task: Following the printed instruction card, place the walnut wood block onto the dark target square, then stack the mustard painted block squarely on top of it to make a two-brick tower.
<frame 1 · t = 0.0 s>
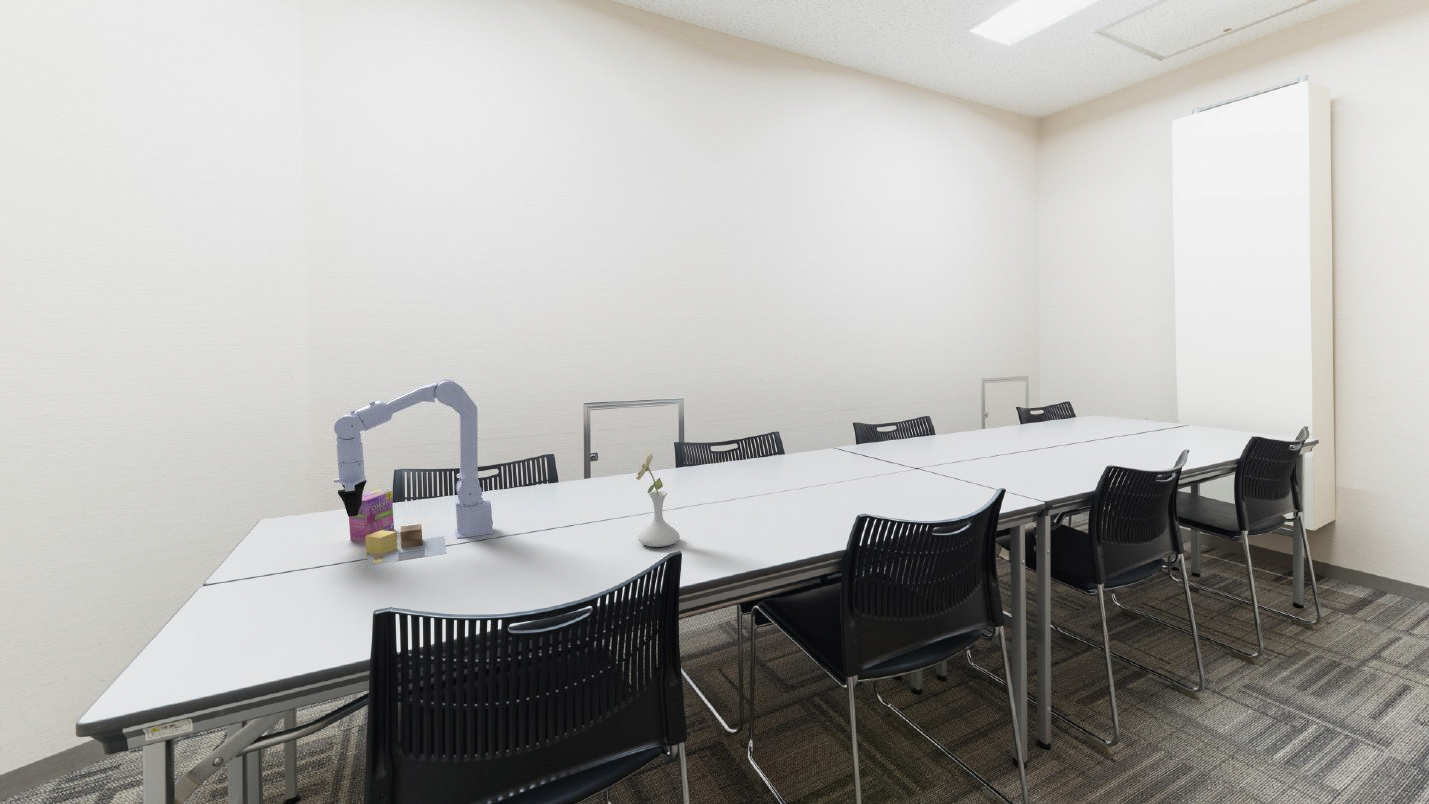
hand: (354, 511, 155), 10 cm above the table, fingers open, 7 cm apart
flower in vase: (657, 544, 159), on the table
mustard block: (382, 550, 155), resting on instruction card
box: (373, 536, 168), on the table
instruction card: (407, 550, 155), on the table
walnut block: (412, 544, 159), resting on instruction card
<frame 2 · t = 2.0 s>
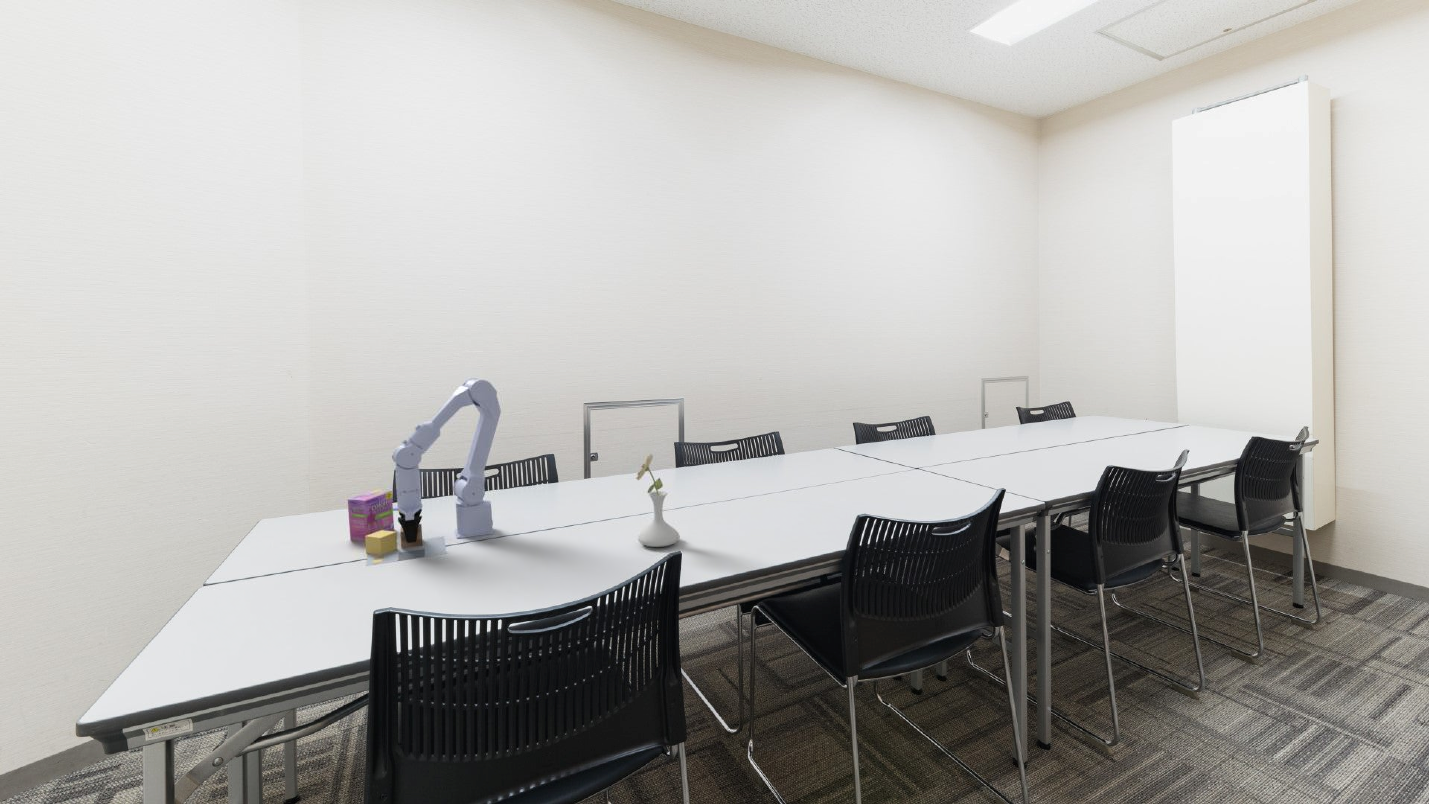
hand: (411, 539, 159), 2 cm above the table, fingers closed on walnut block, 5 cm apart
walnut block: (412, 544, 159), resting on instruction card, touching gripper
everything else where it was.
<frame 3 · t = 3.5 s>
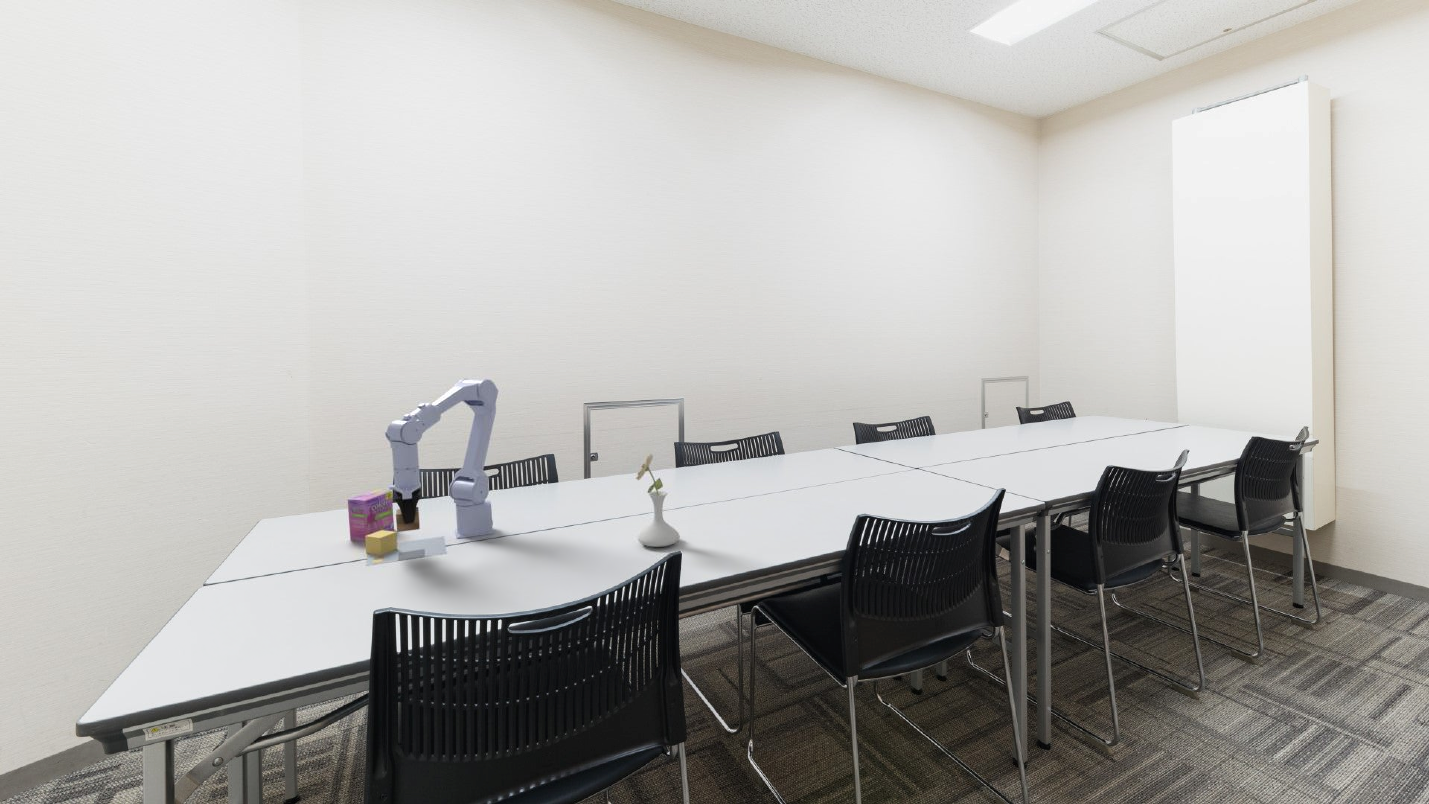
hand: (409, 520, 150), 9 cm above the table, fingers closed on walnut block, 5 cm apart
walnut block: (408, 527, 151), point 7 cm above the table, touching gripper
everything else where it was.
when the fingers open (3 cm above the table, at t = 5.2 s): walnut block stays where it is, resting on instruction card.
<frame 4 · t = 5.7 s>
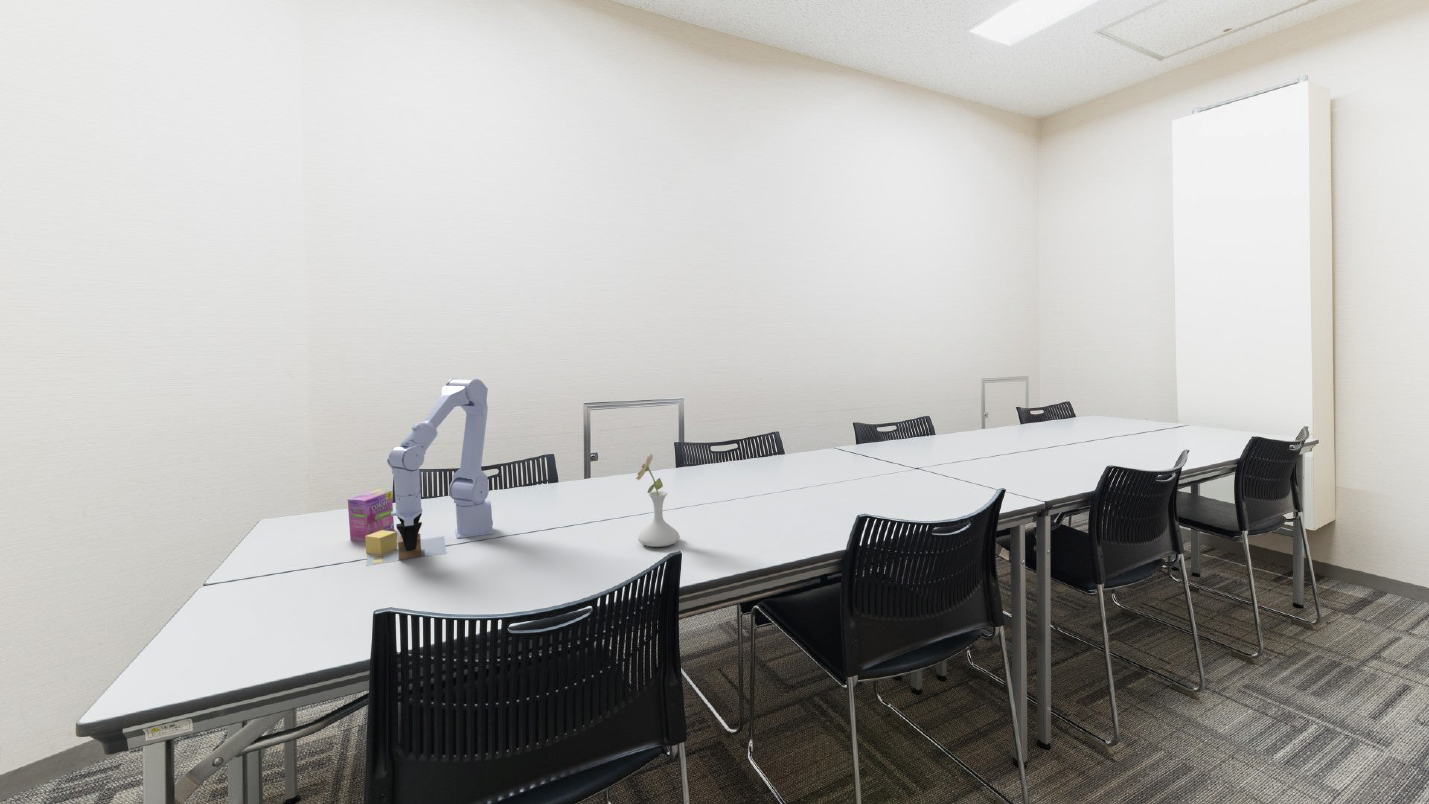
hand: (411, 545, 151), 3 cm above the table, fingers open, 7 cm apart
walnut block: (410, 554, 151), resting on instruction card
everything else where it was.
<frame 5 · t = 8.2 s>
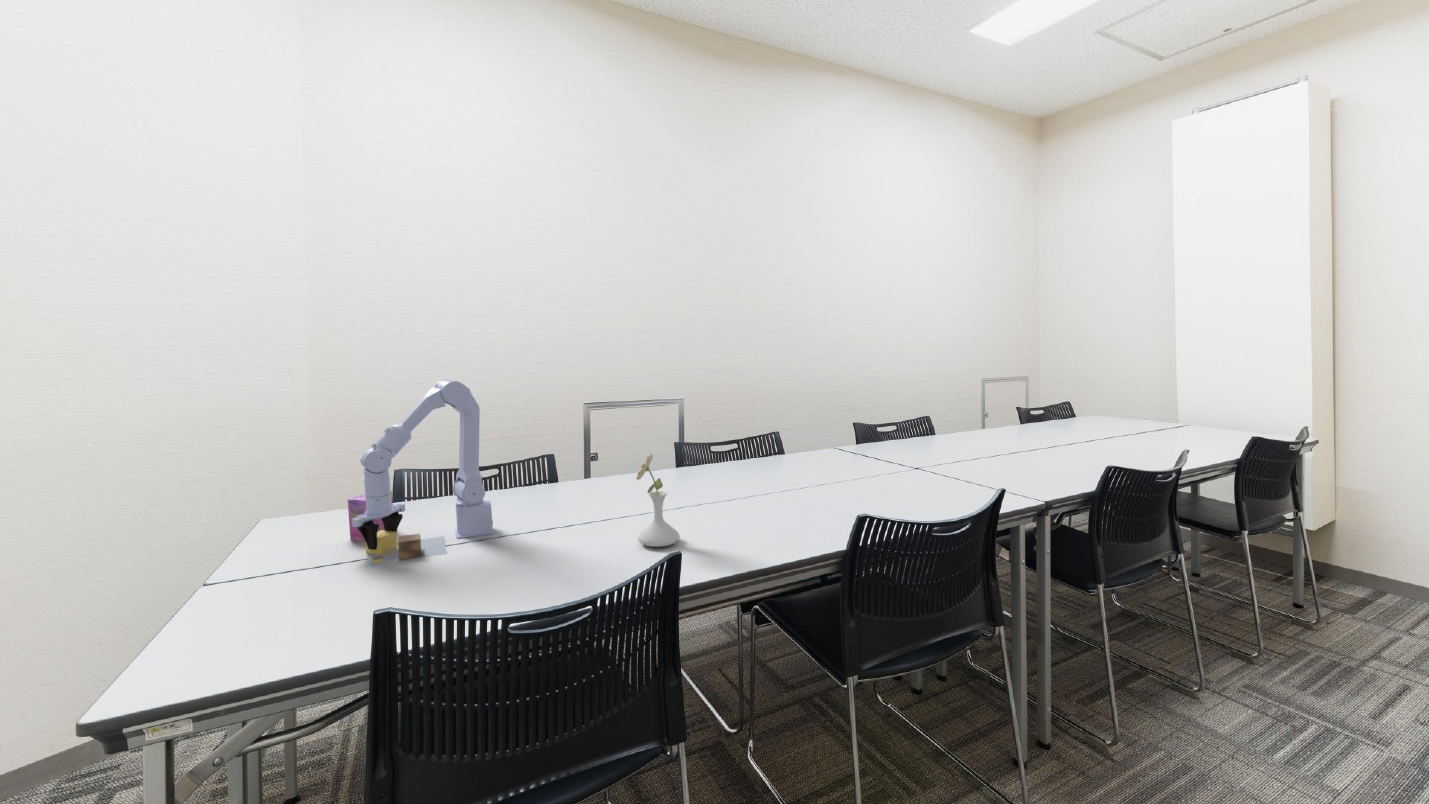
hand: (381, 545, 154), 2 cm above the table, fingers closed on mustard block, 5 cm apart
mustard block: (382, 550, 155), resting on instruction card, touching gripper
everything else where it was.
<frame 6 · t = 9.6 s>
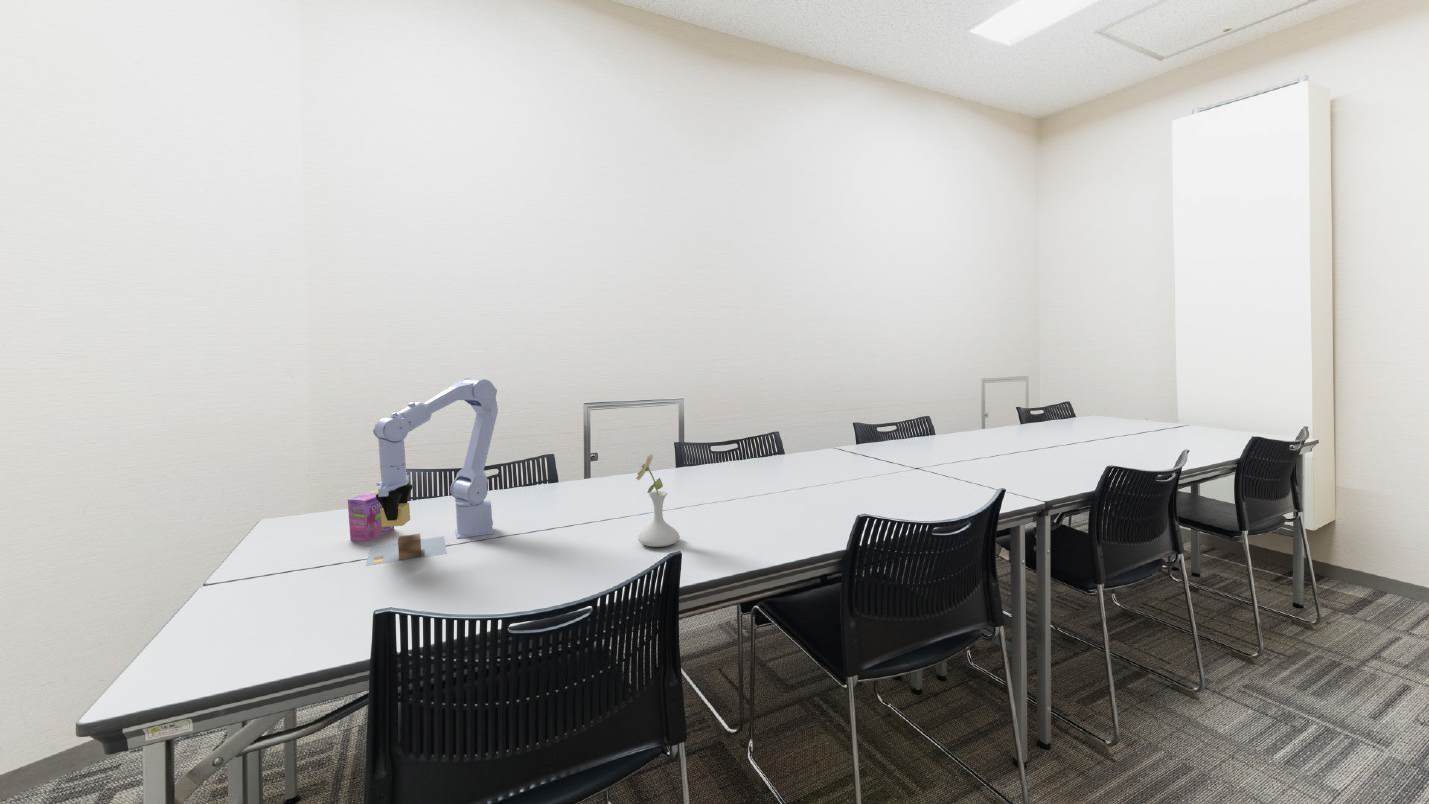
hand: (396, 516, 152), 10 cm above the table, fingers closed on mustard block, 5 cm apart
mustard block: (396, 523, 152), point 8 cm above the table, touching gripper
everything else where it was.
when the fingers open (7 cm above the table, at t = 11.0 s): mustard block stays where it is, resting on walnut block.
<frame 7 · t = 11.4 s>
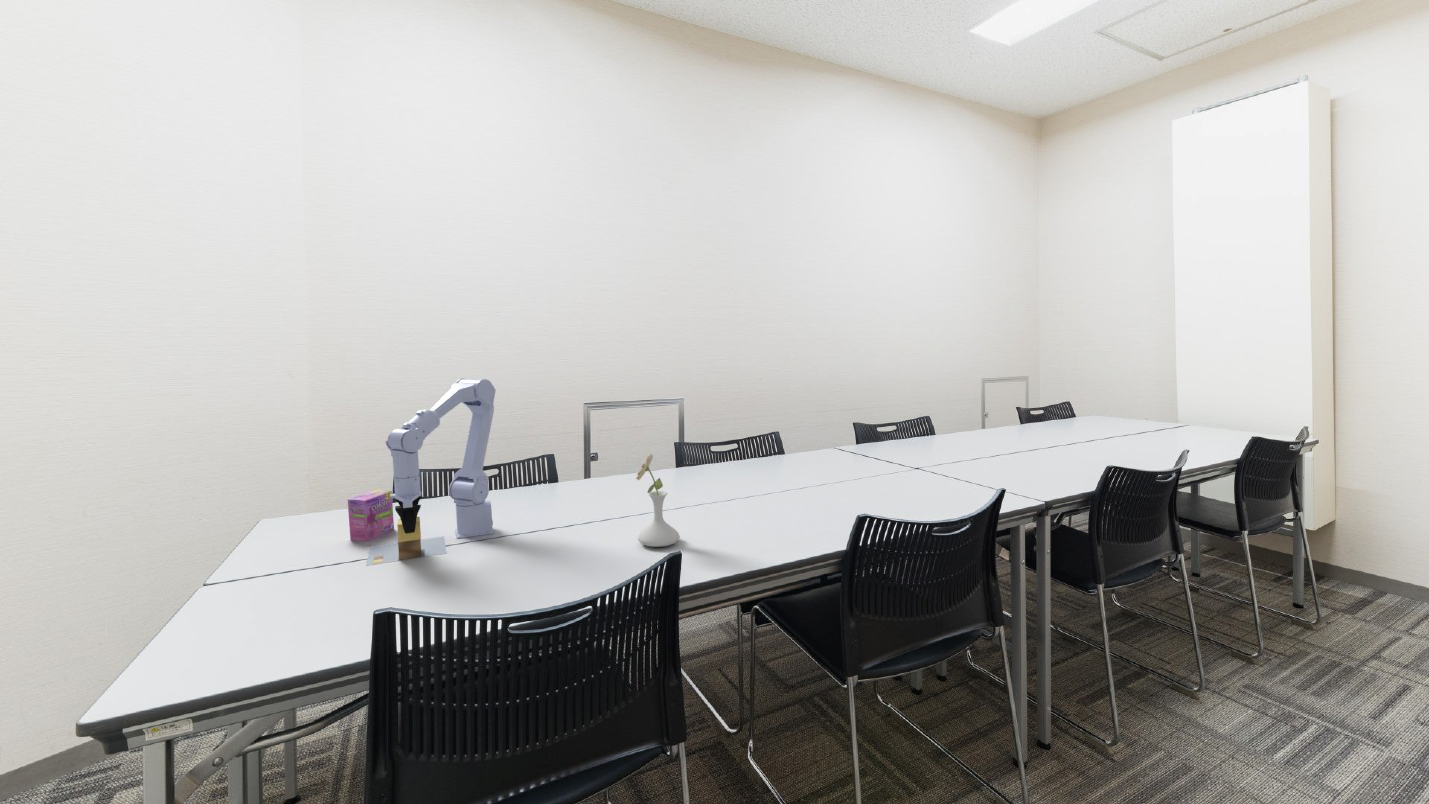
hand: (410, 528, 151), 7 cm above the table, fingers open, 7 cm apart
mustard block: (409, 537, 151), point 5 cm above the table, touching walnut block
walnut block: (410, 554, 151), resting on instruction card, touching mustard block
everything else where it was.
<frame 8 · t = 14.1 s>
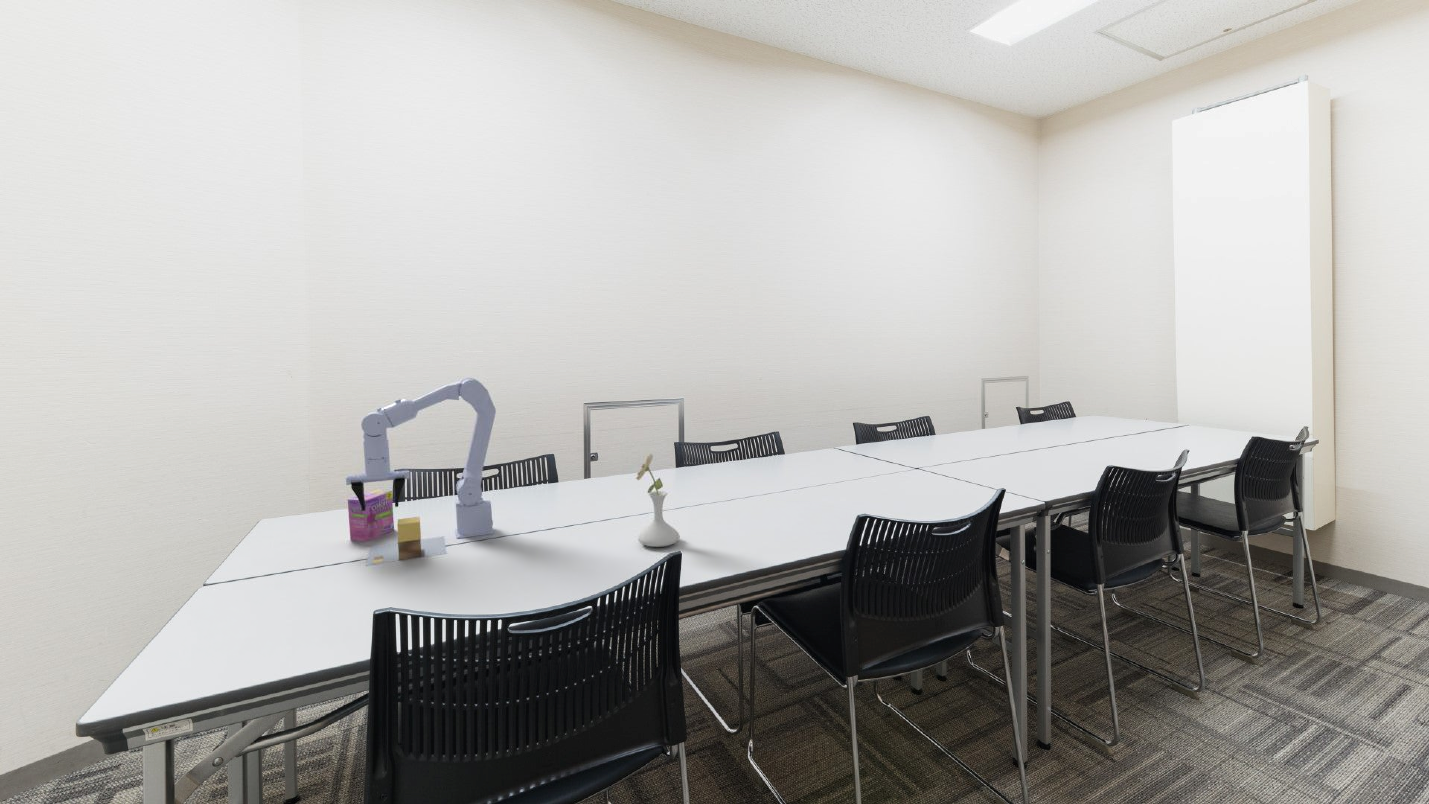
hand: (380, 507, 158), 10 cm above the table, fingers open, 7 cm apart
nothing on the table moved.
at the end: walnut block 0.3 cm from the target spot, resting on instruction card; mustard block 0.1 cm off-centre on the walnut block, point 4.5 cm above the walnut block's base; mustard block tilted 0° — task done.
